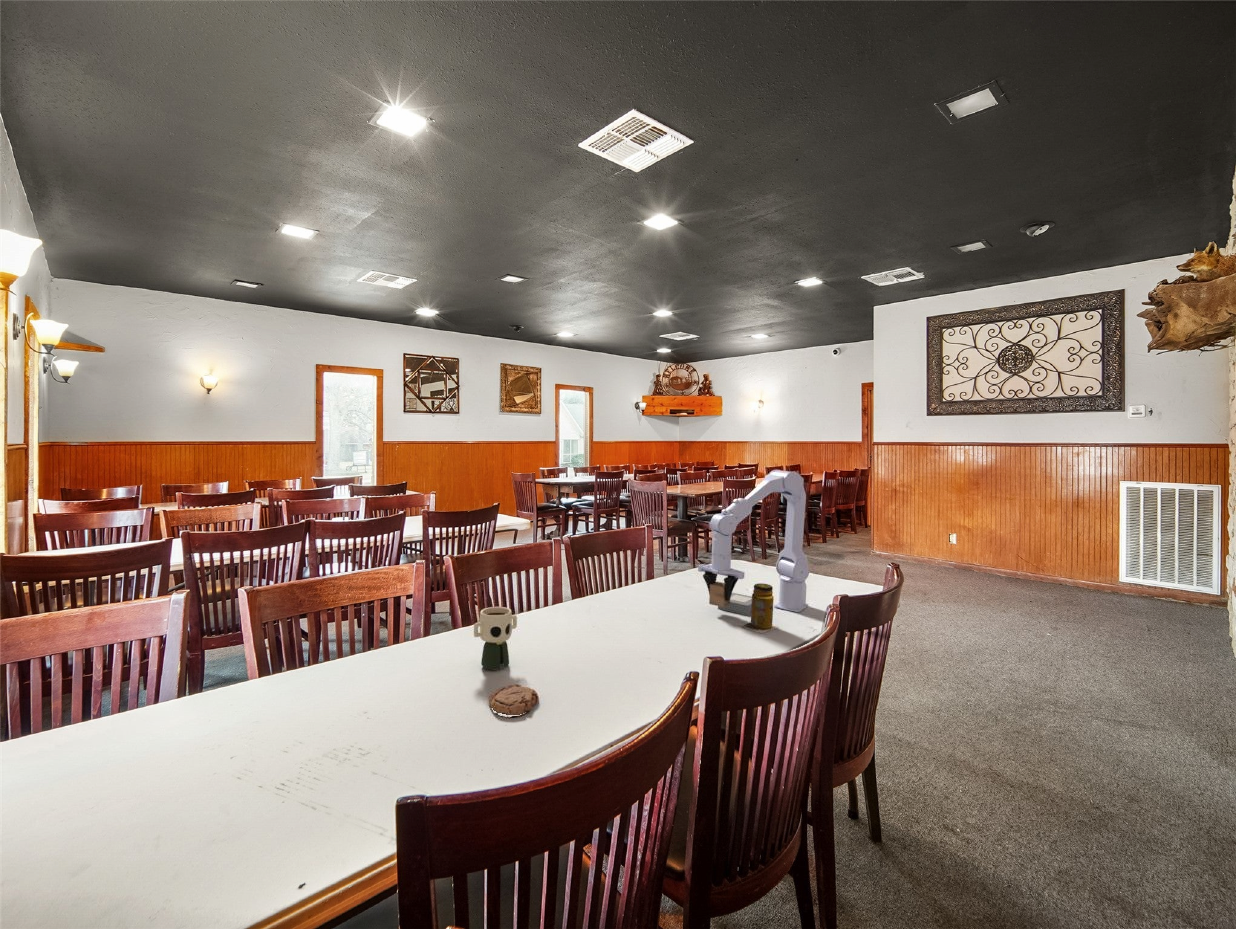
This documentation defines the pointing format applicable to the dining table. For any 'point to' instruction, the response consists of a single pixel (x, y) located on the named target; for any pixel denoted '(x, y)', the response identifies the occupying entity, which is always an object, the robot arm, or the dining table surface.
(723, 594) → the walnut block
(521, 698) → the cookie
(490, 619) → the character mug
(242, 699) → the dining table surface
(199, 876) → the dining table surface
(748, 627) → the condiment
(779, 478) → the robot arm
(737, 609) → the slate base
